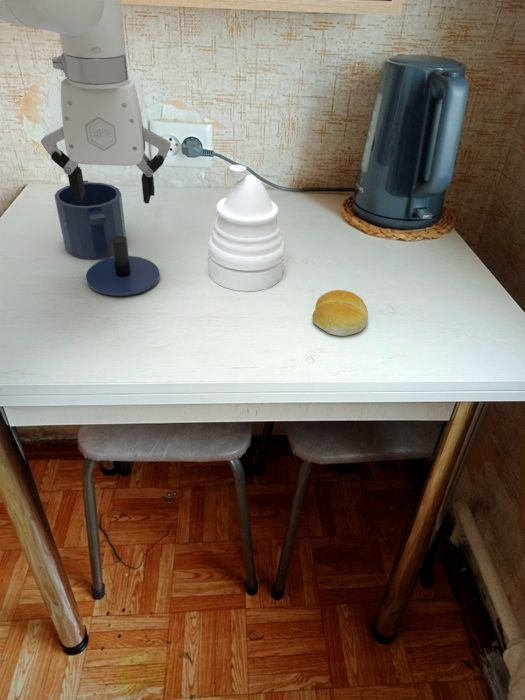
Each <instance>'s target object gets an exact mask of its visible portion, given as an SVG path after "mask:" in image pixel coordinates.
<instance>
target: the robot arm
mask: <svg viewBox="0 0 525 700" xmlns="http://www.w3.org/2000/svg"><path fill="white" fill-rule="evenodd" d="M0 20H2V21H4V22H5V23H9V24H12V25H15V26H18V27H25V28H28V29H33V30H42V31H47V32H52V33H55V34H59V39H60V44H61V52H62V53H61V55H58V56H52V58H51V63H52V66H53V69H54V70H60V71H63V74H64V77H65V78H64V79H63V80H61V81H60V105H61V106H60V107H61V119H62V126H61V127H59V128H57V129H56V130H54V131H52V132H50V133H48V134H46V135H44V136H42V138H41V140H40V144H41V146H43V149H45V151H46V152H47V154H48V155H49V156H50V158H51V160H52V161H53V162H54V163H55V164H57V166H59V168H61V169H62V170H63V172H64V173H65V174H66V175H67V178H68V183H69V184H68V185H70V189H71V193H72V194H75V198H76V202H81V201H82V199H83V197H84V195H85V187H84V182H83V181H84V176H83V170H82V168H81V166H79V165H89V166H90V165H91V166H92V165H93V166H123V167H127V166H136V167H137V168H138V169H139V170H140V171H141V172H142V175H141V188H142V198H143V203H144V204H150V201H151V197H154V196H155V179H154V174H155V173H156V172H157V171H158V170H159V169H160V168H161V166H163V164H164V162H165V160H166V158H167V156H168V154H169V153H170V149H171V145H172V143H171V141H169V140H168V139H166V138H164V137H162V136H160V134H159V135H158V134H157V133H155V132H153V131H151V130H149V129H148V128H145V127H144V123H143V117H142V111H141V106H140V101H139V97H138V93H137V89H136V86H135V83H134V80H132V79H129V72H128V71H129V70H128V63H127V52H126V51H127V50H126V43H125V42H126V41H125V32H124V31H125V30H124V23H123V12H122V2H121V0H0ZM63 140H64V145H65V150H66V153H65V152H64V151H62V150H61V149H60V148H59V146H58V144H57V143H59V142H61V141H63ZM146 143H148V144H150V145H152V146H153V147H155V148H157V150H158V151H157V153H156V154H155V156H153V157H152V159H150V157H149V156H148V155H147V154H146V153H145V152H146Z"/></svg>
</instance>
